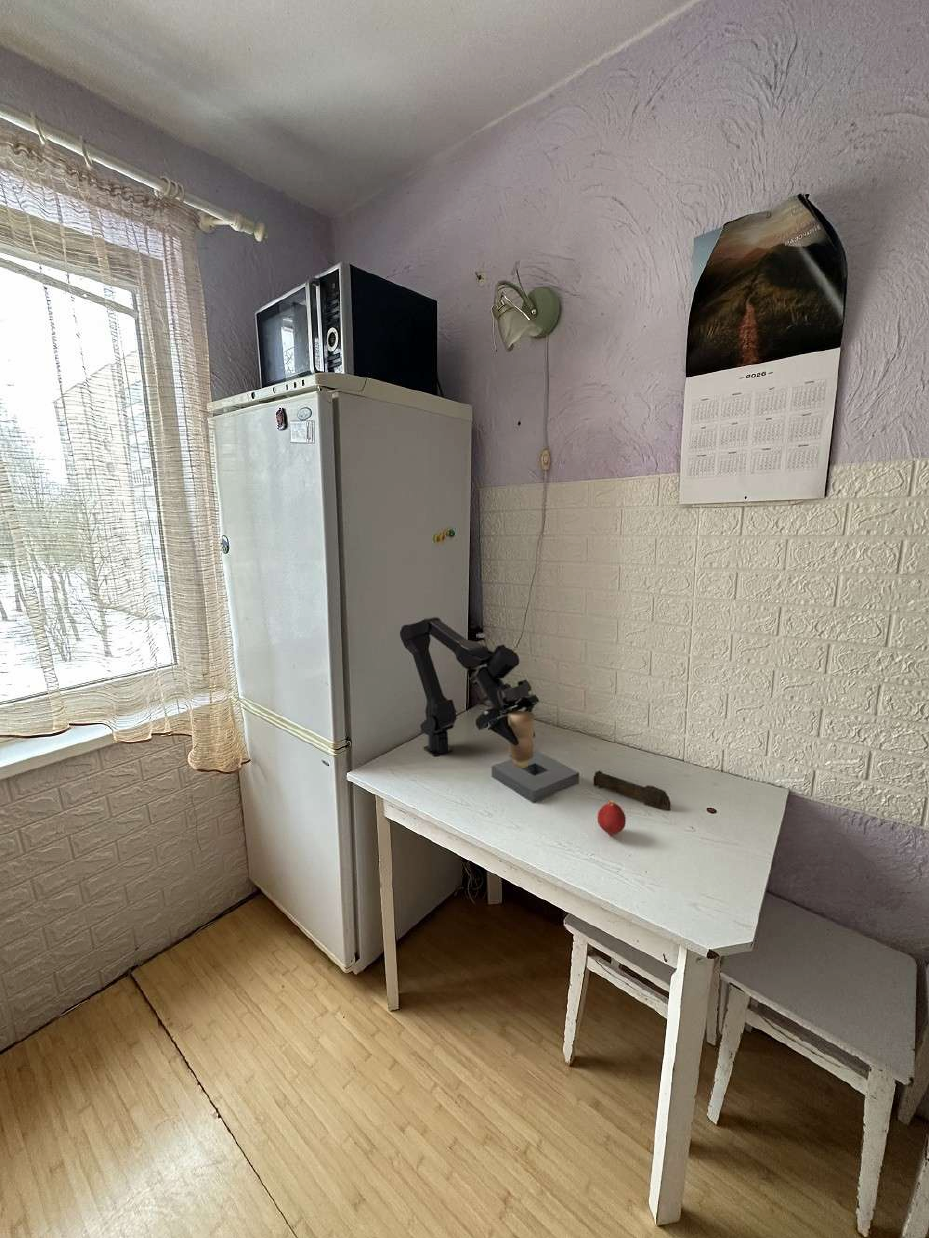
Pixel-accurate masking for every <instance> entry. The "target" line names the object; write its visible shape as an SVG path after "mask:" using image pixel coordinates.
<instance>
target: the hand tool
mask: <svg viewBox="0 0 929 1238" xmlns="http://www.w3.org/2000/svg"><path fill="white" fill-rule="evenodd" d="M592 781H593V784H592V785H593V786H594V787H598V788H599V789H602V788H603V789H606V790H608V791H611V792H615V793H617V794H620V795H622V796H625V797H629V798H632V799H635V800H637V801H639V802H642V803H643V804H644V806H646V807H649V808H653V809H658V810H664V811H671V806H672V805H671V804H672V803H671V801H670V797H669V795H668V793H667V792H666V791H665V790H663V789H661V788H659V787H655V786H653V785H645V786H642V785H639V784H636V783H633V782H630V781H628V780H624V779H622V778H618V777H615V776H613V775H610V774H607V773H604V772H602V771H601V770H597V771H596V772H595V773H594V775H593V777H592Z"/></svg>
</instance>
